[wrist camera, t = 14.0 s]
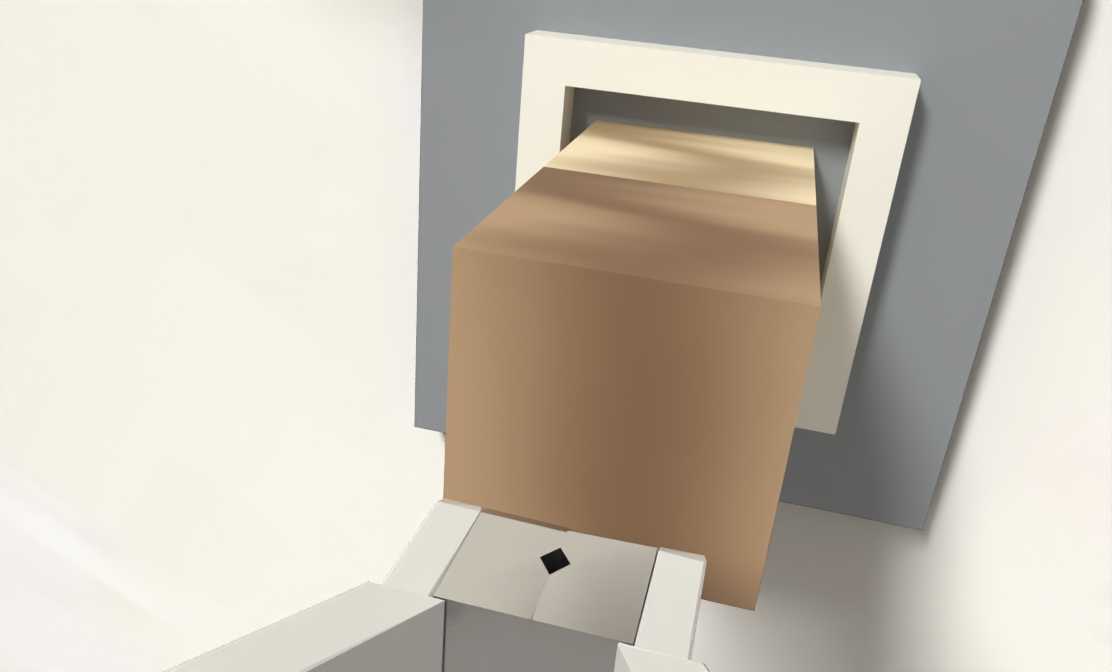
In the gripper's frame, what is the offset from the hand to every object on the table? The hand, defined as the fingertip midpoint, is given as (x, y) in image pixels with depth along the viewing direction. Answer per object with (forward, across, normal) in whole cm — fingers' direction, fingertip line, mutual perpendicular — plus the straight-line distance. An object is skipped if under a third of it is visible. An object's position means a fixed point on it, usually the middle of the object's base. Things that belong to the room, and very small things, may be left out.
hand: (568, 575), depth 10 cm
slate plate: (+15, 0, 0) cm, 15 cm away
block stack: (+13, 0, 0) cm, 13 cm away
